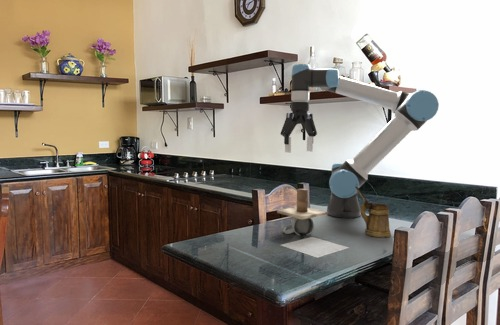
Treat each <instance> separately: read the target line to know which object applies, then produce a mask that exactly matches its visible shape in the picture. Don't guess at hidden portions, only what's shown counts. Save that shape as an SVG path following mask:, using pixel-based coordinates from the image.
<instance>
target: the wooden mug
mask: <svg viewBox="0 0 500 325" xmlns="http://www.w3.org/2000/svg"><path fill="white" fill-rule="evenodd" d="M355 188H356V190H357V191H358V193H357V194H358V195H360V197H361V199H363V202H362V204H361V206H360V211H361V217H362V219H363V221H364V222H365V229H364V233H365V234H366V236H369V237H374V238H379V237H384V238H389V237H391V235H392V234H391V229H390V221H389V214H390V210H389V206H388V204H386V203H372V202H370V201H368V200H367V199H366V197H365V196H364V195H363V193H362V191H361V190H360V188H358V187H356V186H355ZM366 211H367V212H368V213H369V214H368V215H367V214H366Z"/></svg>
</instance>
